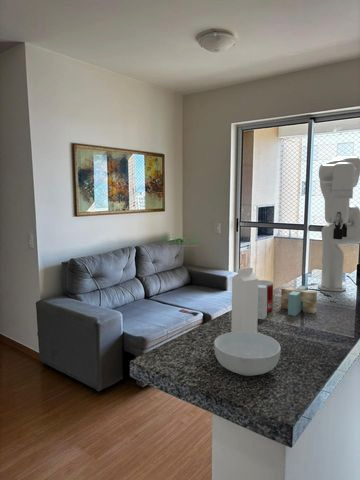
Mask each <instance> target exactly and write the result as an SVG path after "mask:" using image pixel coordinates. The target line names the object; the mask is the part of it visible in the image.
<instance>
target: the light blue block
mask: <svg viewBox="0 0 360 480" xmlns="http://www.w3.org/2000/svg"><path fill="white" fill-rule="evenodd" d="M295 289H301V290H308V291H309V287H308V286H307V285H306V286H305V285H299V286H297V287H296V288H295ZM301 312H303V302H301V292H297V291H292V292H291V293H290V294H289V295H288V309H287V315H288V316H293V317H297V315H299V314H300V313H301Z"/></svg>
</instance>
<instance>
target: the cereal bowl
mask: <svg viewBox="0 0 360 480" xmlns="http://www.w3.org/2000/svg"><path fill="white" fill-rule="evenodd" d="M213 348H214V350H213V351H214V354H215V357H216V360H217V361H218V363H219V364H220V365H221V366H222V367H224V368H225V369H226V370H228V371H230V372H233V373H236V374H238V375H240V376H246V377H250V376H257V375H262V374H266V373H268V372H270V371H271V370H272V371H273V369H274V368H275V367H276V366H277V365H278V363H279V362H280V361H279V360H280V359H281V354H282V353H281V350H282V348H281V345H280V343H279V342H278V341H277V340H276V339H275V338H273V337H271V336H269V335H267V334H264V333H260V332H257V333H256V332H249V331H235V332H231V331H230V332H225V333H222V334H219V335H218V336H216V338H215V339H214V342H213Z"/></svg>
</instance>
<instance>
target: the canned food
mask: <svg viewBox="0 0 360 480" xmlns="http://www.w3.org/2000/svg"><path fill="white" fill-rule="evenodd" d="M258 285H267V313H269V312H271V311H272V310H273V300H274V297H273V296H274V282H272V281H270V280H264V279H263V280H259V279H258Z"/></svg>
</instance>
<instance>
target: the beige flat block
mask: <svg viewBox="0 0 360 480" xmlns="http://www.w3.org/2000/svg"><path fill="white" fill-rule="evenodd" d="M280 291H281V292H280V293H281V295H280V296H281V297H280V309H284V310H285V309H286V310H288V295H289V294H290V293H291V292H292V291H297V292H301V302H303V310H302V312H303V313H309V314H316V313H317V300H318V299H317V297H318V291H313V290H309V289H308V290H301V289H296V288H291V287H286V286H283V287H282V288H281V289H280Z"/></svg>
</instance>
